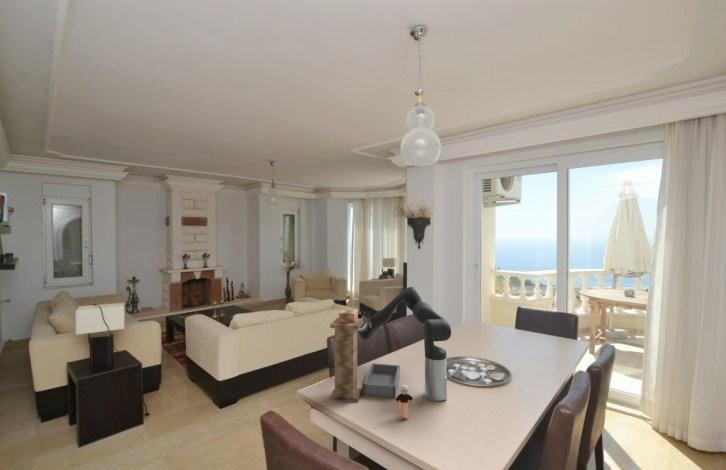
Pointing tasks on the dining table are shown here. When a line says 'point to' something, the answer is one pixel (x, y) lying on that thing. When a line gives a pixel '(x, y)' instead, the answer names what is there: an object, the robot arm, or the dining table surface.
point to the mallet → (348, 315)
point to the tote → (382, 381)
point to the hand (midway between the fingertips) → (352, 311)
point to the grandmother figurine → (403, 402)
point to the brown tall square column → (346, 361)
